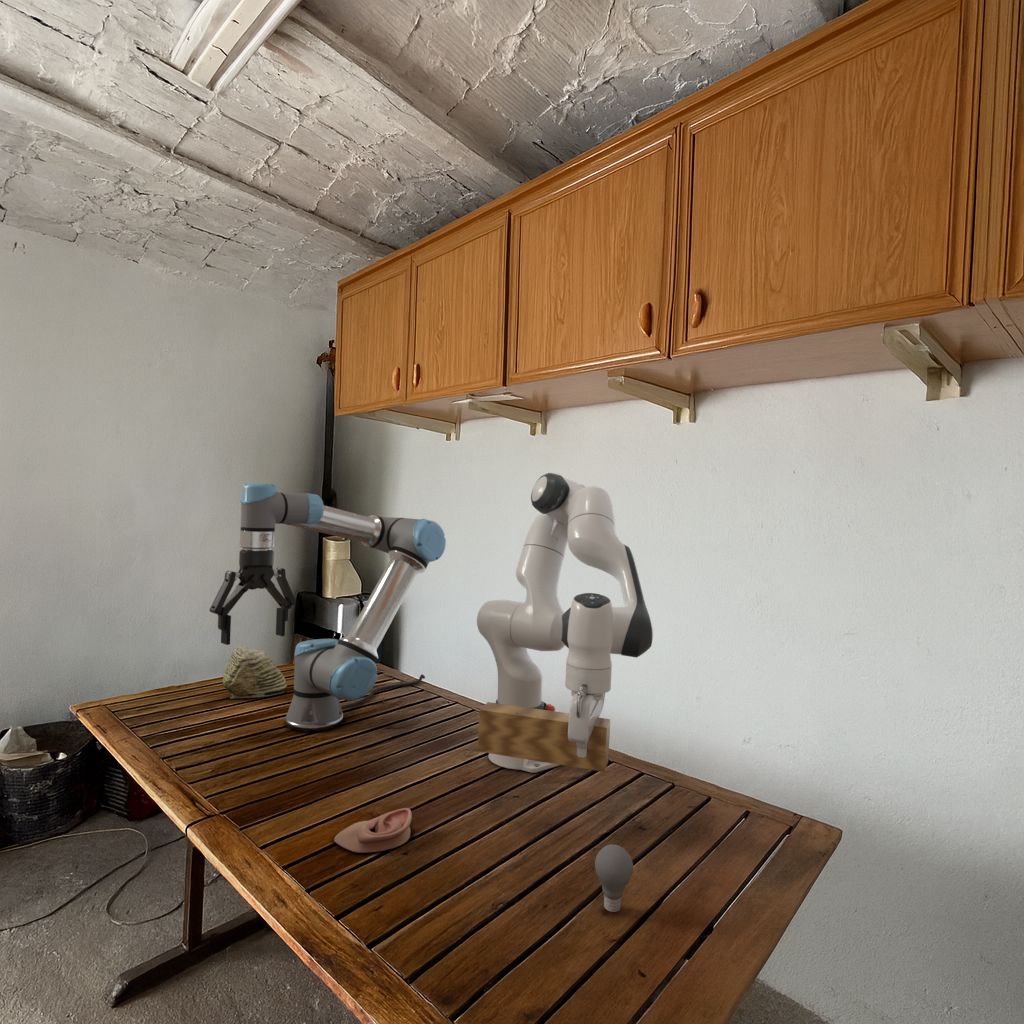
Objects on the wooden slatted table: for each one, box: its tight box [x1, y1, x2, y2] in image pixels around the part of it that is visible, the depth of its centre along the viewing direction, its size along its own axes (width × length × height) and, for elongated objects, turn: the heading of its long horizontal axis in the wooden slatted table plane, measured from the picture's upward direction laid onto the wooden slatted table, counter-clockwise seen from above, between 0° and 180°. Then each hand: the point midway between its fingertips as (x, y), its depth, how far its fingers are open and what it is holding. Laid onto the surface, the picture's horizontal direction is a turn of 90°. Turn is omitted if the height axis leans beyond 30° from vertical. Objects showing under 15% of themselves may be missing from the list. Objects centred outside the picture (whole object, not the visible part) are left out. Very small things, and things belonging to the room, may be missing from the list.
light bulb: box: [594, 844, 634, 913], centre depth 100 cm, size 6×6×10 cm
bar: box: [477, 701, 611, 773], centre depth 125 cm, size 25×5×8 cm, turn 74°
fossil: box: [222, 646, 288, 699], centre depth 198 cm, size 9×18×15 cm, turn 132°
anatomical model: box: [333, 807, 413, 854], centre depth 119 cm, size 13×4×12 cm
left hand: (253, 639), depth 148 cm, fingers open, 13 cm apart
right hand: (585, 749), depth 123 cm, fingers closed on bar, 5 cm apart
